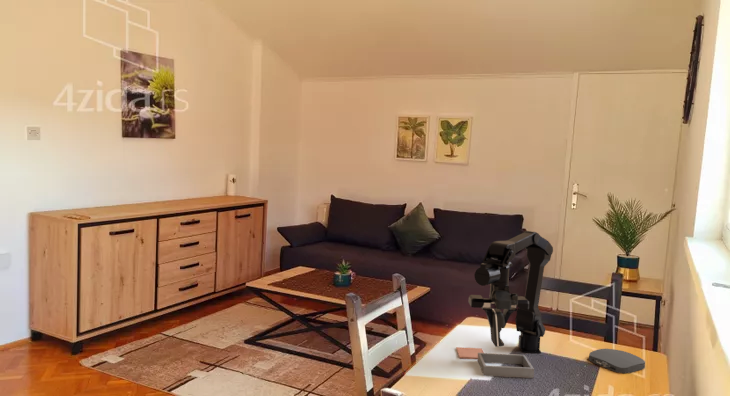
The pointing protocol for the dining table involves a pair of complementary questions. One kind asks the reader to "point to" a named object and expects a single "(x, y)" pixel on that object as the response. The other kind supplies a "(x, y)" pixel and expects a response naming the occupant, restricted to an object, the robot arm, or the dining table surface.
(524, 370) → the bin
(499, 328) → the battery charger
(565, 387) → the dining table surface
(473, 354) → the mat
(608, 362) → the media streaming box
